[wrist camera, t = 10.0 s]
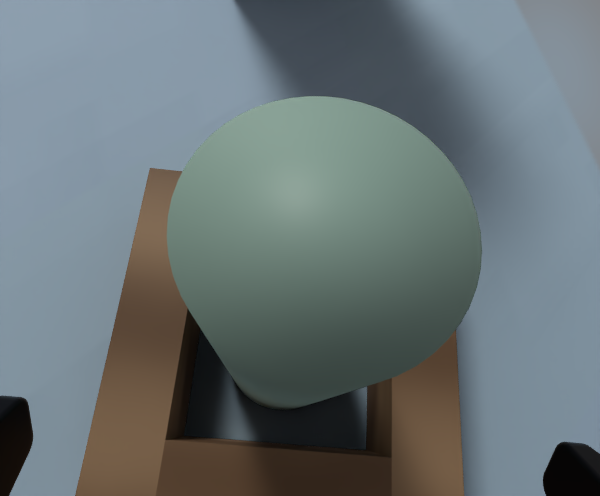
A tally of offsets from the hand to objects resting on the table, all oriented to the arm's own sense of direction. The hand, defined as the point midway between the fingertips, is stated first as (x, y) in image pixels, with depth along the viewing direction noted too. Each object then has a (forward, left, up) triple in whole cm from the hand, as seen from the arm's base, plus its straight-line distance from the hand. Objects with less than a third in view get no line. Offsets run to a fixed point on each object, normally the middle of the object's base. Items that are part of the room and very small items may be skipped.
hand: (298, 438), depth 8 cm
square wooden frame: (+2, -2, -10) cm, 10 cm away
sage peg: (+2, -2, -10) cm, 10 cm away
